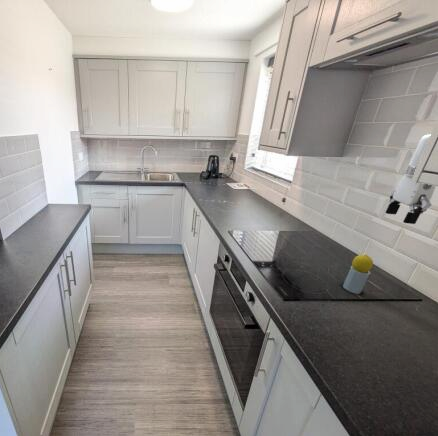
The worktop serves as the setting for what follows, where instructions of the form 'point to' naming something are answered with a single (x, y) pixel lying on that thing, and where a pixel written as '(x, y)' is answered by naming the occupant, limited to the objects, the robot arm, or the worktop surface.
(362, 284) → the cup
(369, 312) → the worktop surface
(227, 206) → the worktop surface
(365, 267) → the lemon
